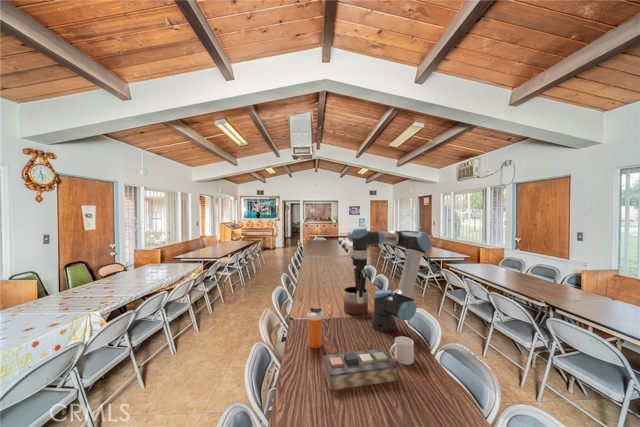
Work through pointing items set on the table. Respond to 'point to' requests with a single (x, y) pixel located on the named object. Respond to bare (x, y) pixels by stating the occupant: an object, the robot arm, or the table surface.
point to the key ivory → (365, 358)
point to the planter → (355, 301)
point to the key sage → (380, 357)
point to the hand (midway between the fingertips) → (360, 302)
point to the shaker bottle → (315, 327)
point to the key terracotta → (335, 362)
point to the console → (359, 371)
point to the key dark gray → (350, 359)
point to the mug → (403, 350)
